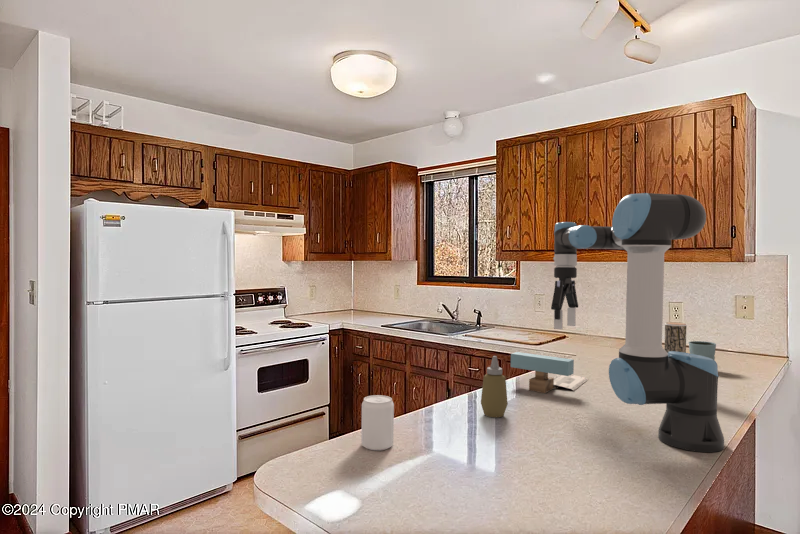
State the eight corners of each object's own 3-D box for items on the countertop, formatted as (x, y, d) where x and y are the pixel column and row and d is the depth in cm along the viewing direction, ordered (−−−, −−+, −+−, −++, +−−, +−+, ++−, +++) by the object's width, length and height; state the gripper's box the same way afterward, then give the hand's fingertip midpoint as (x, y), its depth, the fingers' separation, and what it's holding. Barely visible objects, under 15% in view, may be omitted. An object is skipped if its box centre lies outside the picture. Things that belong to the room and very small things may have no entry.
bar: (568, 376, 181) (568, 361, 181) (510, 367, 195) (510, 353, 195) (573, 373, 185) (573, 359, 185) (516, 364, 199) (516, 351, 199)
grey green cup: (720, 372, 223) (721, 344, 222) (703, 373, 219) (704, 345, 219) (699, 367, 232) (700, 340, 232) (682, 368, 228) (683, 341, 228)
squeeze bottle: (487, 420, 154) (488, 359, 153) (476, 412, 162) (477, 354, 161) (512, 418, 156) (513, 358, 156) (500, 410, 164) (500, 353, 163)
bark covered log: (687, 396, 183) (689, 325, 183) (666, 394, 184) (668, 324, 184) (681, 391, 190) (682, 322, 189) (661, 390, 191) (662, 322, 191)
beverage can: (376, 438, 138) (376, 392, 138) (399, 445, 133) (400, 398, 132) (354, 446, 132) (355, 399, 131) (378, 454, 126) (379, 405, 126)
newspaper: (556, 377, 213) (557, 371, 213) (587, 384, 206) (588, 378, 206) (539, 388, 194) (540, 381, 194) (572, 396, 187) (573, 389, 187)
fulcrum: (545, 393, 185) (545, 373, 185) (529, 390, 189) (529, 371, 189) (553, 388, 192) (553, 369, 191) (537, 386, 195) (538, 367, 195)
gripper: (566, 267, 195) (566, 323, 195) (541, 266, 175) (541, 329, 175) (587, 267, 190) (586, 325, 190) (563, 266, 170) (563, 331, 170)
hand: (565, 327), depth 182 cm, fingers open, 13 cm apart
